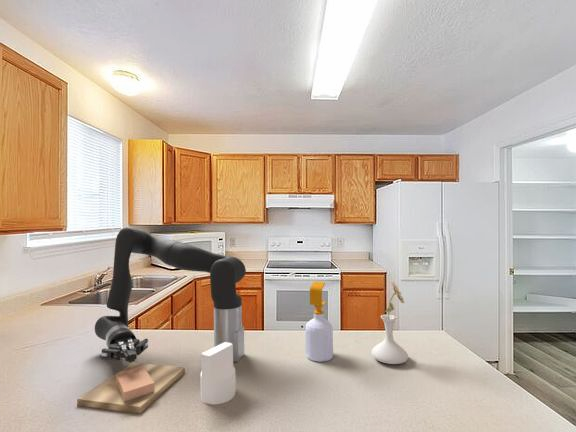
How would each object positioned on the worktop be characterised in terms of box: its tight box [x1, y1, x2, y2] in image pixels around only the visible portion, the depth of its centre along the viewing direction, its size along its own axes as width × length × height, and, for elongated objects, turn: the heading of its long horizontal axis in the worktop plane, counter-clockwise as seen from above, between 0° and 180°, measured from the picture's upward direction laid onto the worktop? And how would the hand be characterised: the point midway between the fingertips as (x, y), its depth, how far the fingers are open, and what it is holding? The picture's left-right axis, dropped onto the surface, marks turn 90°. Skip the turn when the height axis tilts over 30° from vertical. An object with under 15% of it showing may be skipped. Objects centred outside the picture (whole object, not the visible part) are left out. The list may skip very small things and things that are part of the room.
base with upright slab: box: [199, 342, 237, 405], centre depth 80 cm, size 9×9×12 cm
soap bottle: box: [305, 281, 334, 363], centre depth 102 cm, size 9×9×25 cm
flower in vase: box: [371, 280, 409, 365], centre depth 99 cm, size 13×11×25 cm
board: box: [76, 362, 186, 414], centre depth 84 cm, size 18×20×2 cm
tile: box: [115, 366, 154, 402], centre depth 81 cm, size 3×7×12 cm
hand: (132, 358), depth 83 cm, fingers closed
